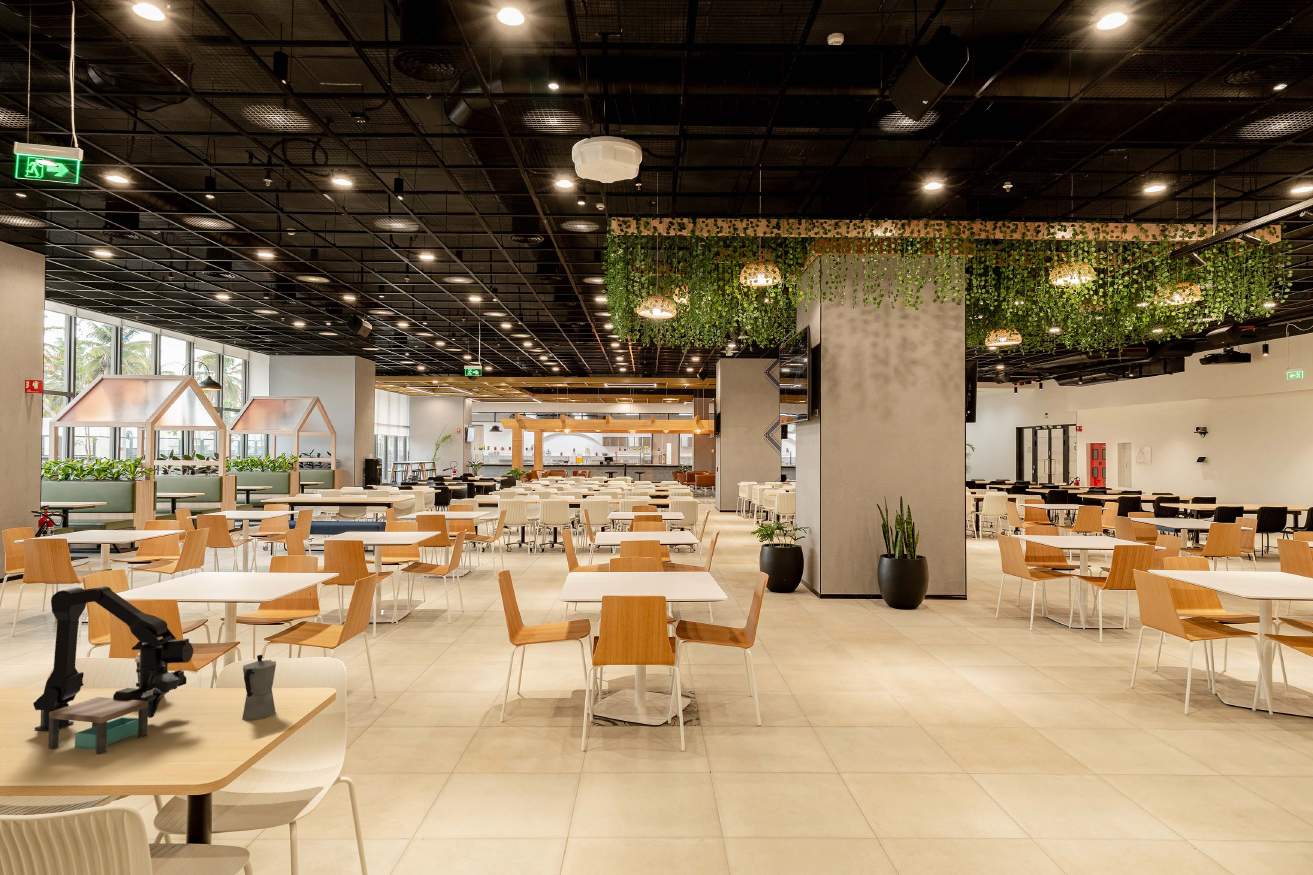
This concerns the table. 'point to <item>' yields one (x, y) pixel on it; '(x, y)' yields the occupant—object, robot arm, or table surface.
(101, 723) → the wooden step stool
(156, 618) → the robot arm
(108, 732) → the tray
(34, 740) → the table surface
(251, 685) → the coffeepot
